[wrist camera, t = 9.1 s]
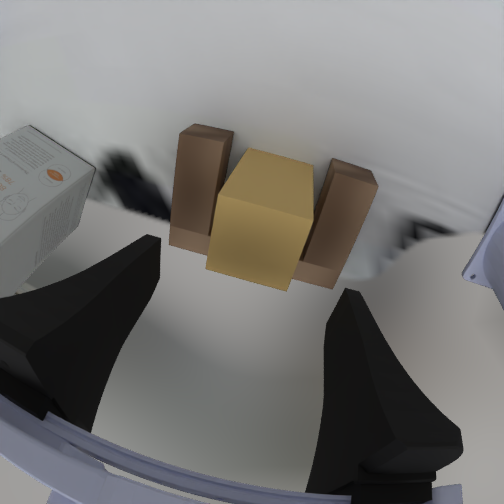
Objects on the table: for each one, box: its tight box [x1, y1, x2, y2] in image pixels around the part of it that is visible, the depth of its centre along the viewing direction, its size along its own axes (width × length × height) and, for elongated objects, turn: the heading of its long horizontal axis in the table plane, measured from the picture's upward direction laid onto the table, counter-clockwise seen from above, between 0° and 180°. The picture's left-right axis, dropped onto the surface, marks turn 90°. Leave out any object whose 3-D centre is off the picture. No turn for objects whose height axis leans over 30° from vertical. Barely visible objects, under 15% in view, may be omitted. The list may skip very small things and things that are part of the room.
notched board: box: [169, 124, 379, 289], centre depth 19 cm, size 11×8×2 cm
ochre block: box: [206, 148, 313, 291], centre depth 17 cm, size 4×4×7 cm
